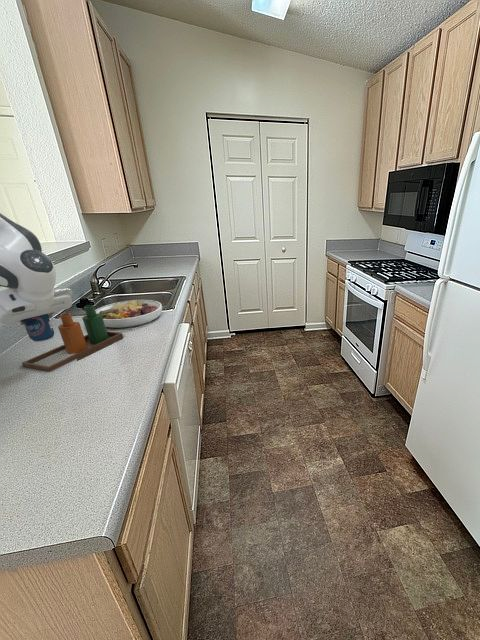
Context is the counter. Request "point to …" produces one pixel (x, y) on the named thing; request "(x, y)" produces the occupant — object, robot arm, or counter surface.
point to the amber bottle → (72, 334)
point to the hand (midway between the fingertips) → (35, 319)
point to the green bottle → (94, 325)
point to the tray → (90, 350)
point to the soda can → (39, 328)
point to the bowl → (129, 313)
